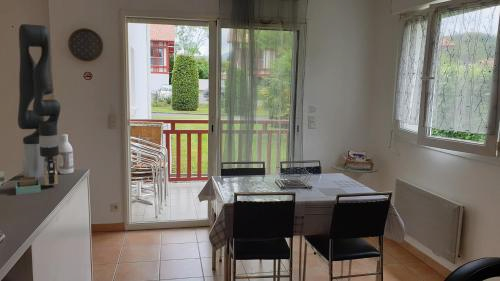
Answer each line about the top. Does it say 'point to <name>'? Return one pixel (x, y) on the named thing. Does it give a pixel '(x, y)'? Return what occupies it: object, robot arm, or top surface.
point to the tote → (28, 188)
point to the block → (27, 181)
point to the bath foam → (65, 156)
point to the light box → (46, 177)
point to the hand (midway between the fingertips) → (51, 181)
